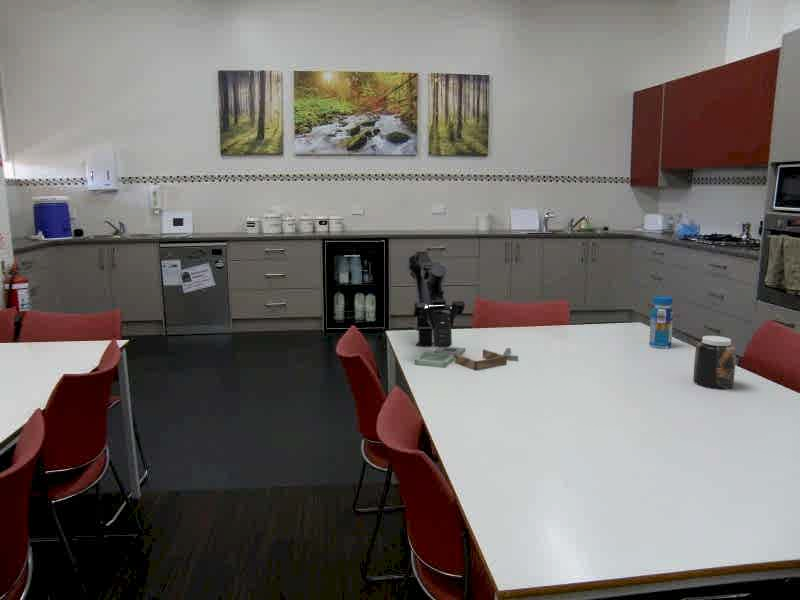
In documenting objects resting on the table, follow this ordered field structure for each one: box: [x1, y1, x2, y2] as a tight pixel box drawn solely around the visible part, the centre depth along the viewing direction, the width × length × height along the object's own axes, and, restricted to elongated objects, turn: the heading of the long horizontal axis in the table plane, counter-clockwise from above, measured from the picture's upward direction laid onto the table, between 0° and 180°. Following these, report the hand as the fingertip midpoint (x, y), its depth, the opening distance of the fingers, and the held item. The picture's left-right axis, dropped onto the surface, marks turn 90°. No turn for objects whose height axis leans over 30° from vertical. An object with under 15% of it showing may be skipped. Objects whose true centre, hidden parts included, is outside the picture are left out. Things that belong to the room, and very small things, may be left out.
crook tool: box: [502, 347, 519, 362], centre depth 243 cm, size 12×6×2 cm, turn 163°
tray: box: [414, 351, 455, 368], centre depth 236 cm, size 12×12×2 cm
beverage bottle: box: [648, 295, 674, 349], centre depth 255 cm, size 8×8×20 cm
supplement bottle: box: [432, 311, 453, 348], centre depth 234 cm, size 7×7×12 cm
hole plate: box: [432, 346, 467, 356], centre depth 248 cm, size 10×10×1 cm
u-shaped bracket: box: [454, 349, 508, 371], centre depth 233 cm, size 12×14×3 cm
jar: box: [692, 335, 737, 389], centre depth 207 cm, size 12×12×15 cm
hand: (442, 327), depth 233 cm, fingers closed on supplement bottle, 7 cm apart
